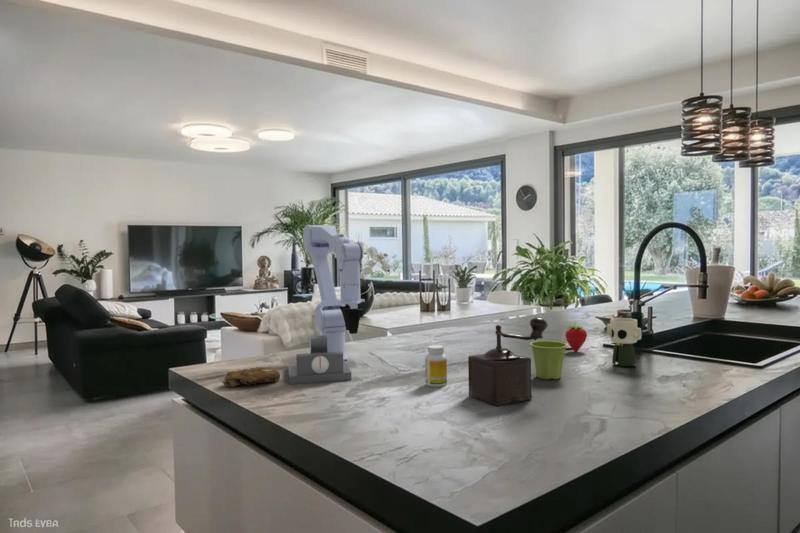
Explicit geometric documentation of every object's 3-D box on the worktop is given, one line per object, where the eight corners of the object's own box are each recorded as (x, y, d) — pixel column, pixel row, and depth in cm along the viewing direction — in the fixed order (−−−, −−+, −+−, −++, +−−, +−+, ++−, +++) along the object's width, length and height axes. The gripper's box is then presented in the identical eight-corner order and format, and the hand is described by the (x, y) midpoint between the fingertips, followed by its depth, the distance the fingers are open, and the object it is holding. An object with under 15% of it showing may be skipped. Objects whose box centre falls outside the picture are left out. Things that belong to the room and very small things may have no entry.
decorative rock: (237, 395, 132) (288, 385, 144) (237, 378, 132) (288, 369, 143) (213, 385, 140) (263, 376, 151) (213, 369, 140) (264, 361, 151)
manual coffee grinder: (497, 407, 116) (496, 323, 115) (467, 396, 126) (466, 318, 125) (552, 397, 123) (551, 317, 123) (519, 386, 133) (518, 313, 132)
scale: (288, 369, 157) (287, 345, 157) (344, 365, 160) (343, 341, 160) (289, 384, 140) (288, 357, 139) (351, 379, 143) (350, 353, 143)
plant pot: (574, 376, 142) (573, 343, 141) (556, 383, 135) (556, 348, 135) (541, 371, 148) (541, 339, 148) (523, 377, 141) (523, 344, 141)
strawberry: (591, 351, 174) (591, 320, 173) (576, 354, 169) (575, 322, 169) (576, 348, 178) (576, 318, 178) (561, 351, 174) (560, 320, 174)
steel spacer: (310, 357, 154) (309, 336, 153) (326, 356, 155) (325, 335, 154) (311, 360, 149) (310, 338, 149) (327, 359, 150) (327, 337, 150)
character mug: (599, 363, 156) (599, 318, 155) (615, 360, 159) (615, 316, 159) (632, 370, 146) (632, 322, 146) (649, 367, 150) (649, 320, 149)
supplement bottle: (421, 384, 137) (420, 346, 136) (436, 380, 140) (436, 343, 140) (436, 388, 133) (435, 349, 132) (451, 384, 136) (451, 346, 136)
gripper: (367, 285, 151) (369, 334, 151) (360, 283, 165) (361, 327, 165) (342, 286, 149) (343, 335, 150) (337, 283, 163) (338, 329, 164)
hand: (351, 331), depth 157 cm, fingers open, 7 cm apart
